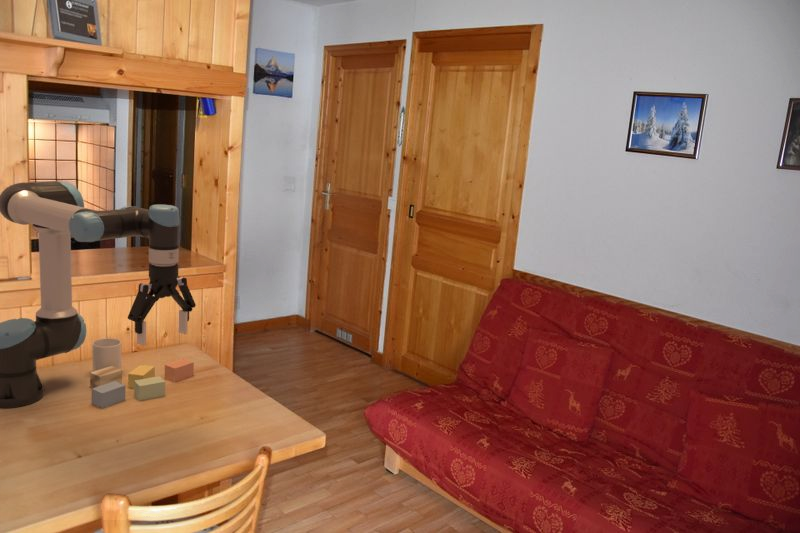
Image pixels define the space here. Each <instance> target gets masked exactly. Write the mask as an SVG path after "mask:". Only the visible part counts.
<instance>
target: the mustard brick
mask: <svg viewBox="0 0 800 533" xmlns="http://www.w3.org/2000/svg"><path fill="white" fill-rule="evenodd" d="M155 373H156V370H155V366H154V365H153V366H152V365H145V364H144V365H143V364H140V365H138V366H137V367H136V368H134V369H133V370H131V371H130V372H128V373H127V374H128V375H127V382H128V383H127V386H128V389H134V381H135V380H140V379H146V378H152V377H156V376H155Z"/></svg>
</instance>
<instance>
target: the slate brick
mask: <svg viewBox="0 0 800 533" xmlns="http://www.w3.org/2000/svg"><path fill="white" fill-rule="evenodd" d="M124 401H126V385H125V384H123V383H122V384H121V383H118V382H116V381H114V382H111V383H107V384H104V385H101V386H98V387H95V388H92V387H91V404H92V405H94V406H96V407H98V408H101V409H104V408H107V407H109V406H112V405H116V404H119V403H121V402H124Z"/></svg>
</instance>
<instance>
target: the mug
mask: <svg viewBox="0 0 800 533" xmlns="http://www.w3.org/2000/svg"><path fill="white" fill-rule="evenodd" d="M91 349H92V350H91V352H92V372H94V371H97V370H100V369H104V368H107V367H110V366H114V367H116V368H119V369H121V370H123V368H122V367H123V366H122V365H123V364H122V361H123V360H122V359H123V358H122V340H121V339H118V338H114V337H106V338H98V339H96V340H93V341H92V348H91Z"/></svg>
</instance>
